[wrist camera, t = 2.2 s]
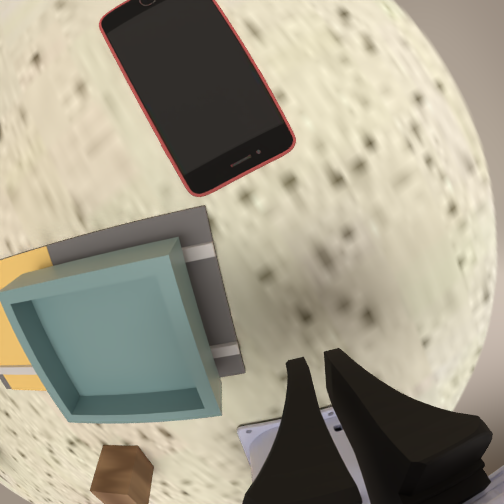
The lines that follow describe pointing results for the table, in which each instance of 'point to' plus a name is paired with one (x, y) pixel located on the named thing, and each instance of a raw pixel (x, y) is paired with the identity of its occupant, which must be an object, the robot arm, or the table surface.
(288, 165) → the table surface
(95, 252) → the track
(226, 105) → the smartphone
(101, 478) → the walnut block
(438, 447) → the robot arm
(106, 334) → the teal square tray
